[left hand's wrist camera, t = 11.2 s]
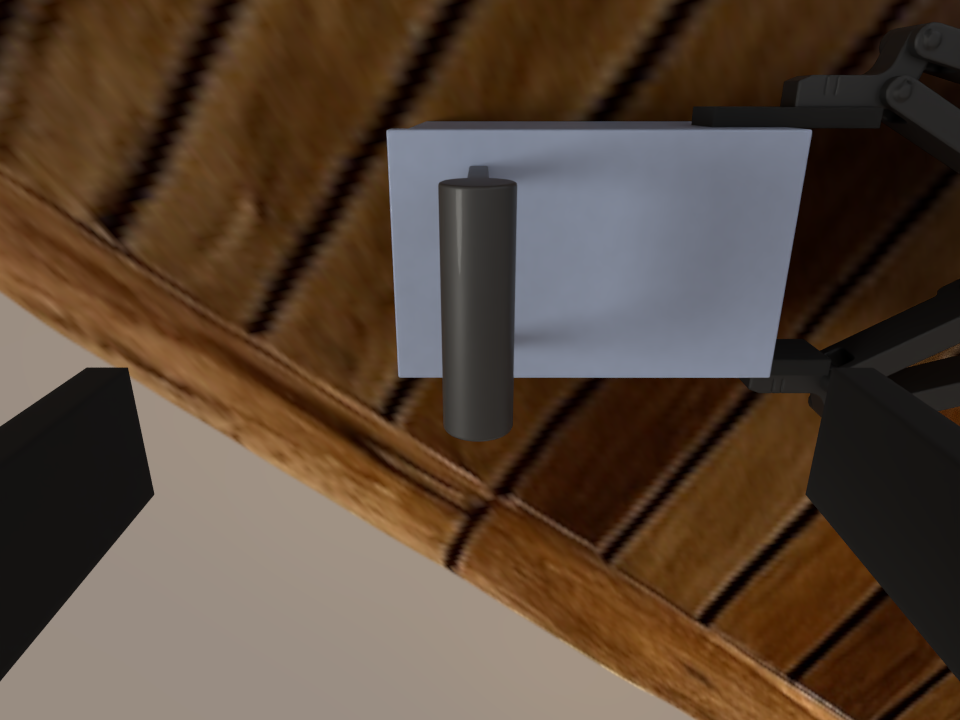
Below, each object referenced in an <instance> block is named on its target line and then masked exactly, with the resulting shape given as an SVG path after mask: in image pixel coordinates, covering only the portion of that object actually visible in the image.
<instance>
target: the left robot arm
mask: <svg viewBox="0 0 960 720" xmlns="http://www.w3.org/2000/svg"><path fill="white" fill-rule="evenodd" d="M153 495H154V490H153V486H152V481H151V476H150V471H149V466H148V462H147V457H146V452H145V448H144V443H143V438H142V433H141V428H140V423H139V419H138V414H137V409H136V404H135V400H134V395H133V390H132V385H131V380H130V376H129V371H128V368H85V369H84V370H83V371H81V372H80V373H78V374H77V375H75V376H74V377H72V378H71V379H69V380H68V381H66V382H65V383H64V384H62V385H61V386H59V387H58V388H56V389H55V390H53V391H52V392H50V393H49V394H47V395H46V396H44V397H43V398H41V399H40V400H39V401H37V402H36V403H34V404H33V405H31V406H30V407H28V408H27V409H25V410H24V411H22V412H21V413H20V414H18V415H17V416H15V417H14V418H12V419H11V420H9V421H8V422H6V423H5V424H3V425H2V426H0V681H1V680H2V678H3V677H4V676H5V675H6V674H7V672H8V671H9V670H10V669H11V667H12V666H13V665H14V664H15V663H16V661H17V660H18V659H19V658H20V657H21V655H22V654H23V653H24V652H25V650H26V649H27V648H28V647H29V646H30V644H31V643H32V642H33V641H34V640H35V638H36V637H37V636H38V635H39V634H40V632H41V631H42V630H43V629H44V628H45V626H46V625H47V624H48V623H49V622H50V620H51V619H52V618H53V617H54V615H55V614H56V613H57V612H58V611H59V609H60V608H61V607H62V606H63V605H64V603H65V602H66V601H67V600H68V598H69V597H70V596H71V595H72V594H73V592H74V591H75V590H76V589H77V588H78V586H79V585H80V584H81V583H82V581H83V580H84V579H85V578H86V577H87V575H88V574H89V573H90V572H91V571H92V569H93V568H94V567H95V566H96V565H97V563H98V562H99V561H100V560H101V558H102V557H103V556H104V555H105V554H106V552H107V551H108V550H109V549H110V548H111V546H112V545H113V544H114V543H115V542H116V540H117V539H118V538H119V537H120V535H121V534H122V533H123V532H124V531H125V529H126V528H127V527H128V526H129V525H130V523H131V522H132V521H133V520H134V518H135V517H136V516H137V515H138V514H139V512H140V511H141V510H142V509H143V508H144V506H145V505H146V504H147V503H148V501H149V500H150V499H151V498H152V497H153ZM806 495H807V497H808V498H809V499H810V500H811V502H812V503H813V504H814V505H815V506H816V508H817V509H818V510H819V511H820V512H821V514H822V515H823V516H824V517H825V519H826V520H827V521H828V522H829V523H830V525H831V526H832V527H833V528H834V529H835V531H836V532H837V533H838V534H839V535H840V537H841V538H842V539H843V540H844V542H845V543H846V544H847V545H848V546H849V548H850V549H851V550H852V551H853V552H854V554H855V555H856V556H857V557H858V558H859V560H860V561H861V562H862V563H863V565H864V566H865V567H866V568H867V569H868V571H869V572H870V573H871V574H872V575H873V577H874V578H875V579H876V580H877V582H878V583H879V584H880V585H881V586H882V588H883V589H884V590H885V591H886V592H887V594H888V595H889V596H890V597H891V598H892V600H893V601H894V602H895V603H896V605H897V606H898V607H899V608H900V609H901V611H902V612H903V613H904V614H905V615H906V617H907V618H908V619H909V620H910V622H911V623H912V624H913V625H914V626H915V628H916V629H917V630H918V631H919V632H920V634H921V635H922V636H923V637H924V638H925V640H926V641H927V642H928V643H929V645H930V646H931V647H932V648H933V649H934V651H935V652H936V653H937V654H938V655H939V657H940V658H941V659H942V660H943V661H944V663H945V664H946V665H947V666H948V668H949V669H950V670H951V671H952V672H953V674H954V675H955V676H956V677H957V678H958V680H959V681H960V426H958V425H957V424H955V423H954V422H952V421H951V420H949V419H948V418H946V417H945V416H944V415H942V414H941V413H939V412H938V411H936V410H935V409H933V408H932V407H930V406H929V405H927V404H926V403H924V402H923V401H921V400H920V399H919V398H917V397H916V396H914V395H913V394H911V393H910V392H908V391H907V390H905V389H904V388H902V387H901V386H899V385H898V384H897V383H895V382H894V381H892V380H891V379H889V378H888V377H886V376H885V375H883V374H882V373H880V372H879V371H877V370H876V369H875V368H832V371H831V376H830V380H829V385H828V390H827V395H826V399H825V404H824V409H823V414H822V419H821V423H820V428H819V433H818V438H817V443H816V447H815V452H814V457H813V462H812V466H811V471H810V476H809V481H808V486H807V490H806Z"/></svg>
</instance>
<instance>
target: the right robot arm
mask: <svg viewBox="0 0 960 720" xmlns="http://www.w3.org/2000/svg"><path fill="white" fill-rule="evenodd" d="M879 50H880V55H879V57H878V59H877V61H876V63H875V64H874V66H873V67H872V68H871V69H870V70H869V71H868V72H866V73H865V74H863V75H809V76H797V77H794V78H792V79H789V80H787V81H785V82H784V86H783V92H782V98H781V105H780V107H693V115H692V124H691V125H696V126H705V127H788V128H880V124H881V122H883V123H884V124H886V125H887V126H889V127H890V128H892V129H893V130H895V131H896V132H898V133H899V134H901V135H902V136H904V137H905V138H907V139H908V140H910V141H911V142H913V143H914V144H916V145H917V146H919V147H920V148H922V149H923V150H924V151H926V152H927V153H929V154H930V155H932V156H933V157H935V158H936V159H938V160H939V161H941V162H942V163H944V164H945V165H947V166H948V167H950V168H951V169H953V170H954V171H956V172H957V173H959V174H960V109H958V108H957V107H955V106H954V105H953V104H951V103H950V102H948V101H947V100H945V99H944V98H942V97H941V96H940V95H938V94H937V93H935V92H934V91H932V90H931V89H930V88H928V87H927V86H925V85H924V84H922V83H921V82H919V81H918V80H919V78H920V76H921V75H922V73H923V72H924V73H927V74H930V75H933V76H936V77H940V78H943V79H946V80H949V81H952V82H955V83H958V84H960V29H957V28H954V27H951V26H948V25H945V24H942V23H936V22H932V23H927V24H921V25H915V26H909V27H903V28H897V29H894V30H891V31H889V32H888V33H886V34H885V35H884V37H883V38H882V40H881V42H880V46H879ZM959 343H960V279H959V280H956V281H954V282H952V283H950V284H948V285H946V286H944V287H942V288H940V289H939V290H938V292H937V295H936V296H935V297H933V298H931V299H929V300H927V301H925V302H923V303H921V304H919V305H916V306H914V307H912V308H910V309H908V310H906V311H904V312H902V313H899V314H897V315H895V316H893V317H891V318H889V319H887V320H885V321H882V322H880V323H878V324H876V325H874V326H872V327H870V328H867V329H865V330H863V331H861V332H859V333H857V334H855V335H853V336H850V337H848V338H846V339H844V340H842V341H840V342H838V343H836V344H833V345H831V346H829V347H827V348H825V349H823V350H821V351H819V350H817V349H816V348H815V347H813V346H812V345H811V344H809V343H808V342H807V341H805V340H804V339H776V344H775V350H774V355H773V361H772V367H771V373H770V377H769V378H739V379H740V380H741V381H742V382H743V383H744V384H745V385H746V386H747V387H748V389H750V390H753V391H755V392H758V393H810V396H809V399H808V403H809V406H810V407H811V408H812V409H813V410H814V411H815V412H816V413H817V414H818V415H820V416H821V417H822V414H823V409H824V404H825V399H826V395H827V390H828V385H829V380H830V376H831V371H832V368H875V369H876V370H877V371H879V372H880V373H882V374H883V375H885V376H886V377H888V378H889V379H891V380H892V381H894V382H895V383H897V384H898V385H899V386H901V387H902V388H904V389H905V390H907V391H908V392H910V393H911V394H913V395H914V396H916V397H917V398H919V399H920V400H921V401H923V402H924V403H926V404H927V405H929V406H930V407H932V408H933V409H935V410H936V411H941V410H945V409H949V408H954V407H958V406H960V355H959V356H954V357H950V358H945V359H941V360H937V361H933V362H929V363H924V364H920V365H916V366H912V367H908V366H911V365H913V364H915V363H917V362H919V361H922V360H924V359H926V358H928V357H930V356H933V355H935V354H937V353H939V352H941V351H944V350H946V349H948V348H950V347H952V346H955V345H957V344H959ZM906 367H907V368H906Z"/></svg>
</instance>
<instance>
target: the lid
mask: <svg viewBox="0 0 960 720" xmlns="http://www.w3.org/2000/svg"><path fill="white" fill-rule="evenodd" d="M811 136H812V130H810V129H389V130H387V150H388V171H389V191H390V212H391V232H392V253H393V273H394V294H395V315H396V335H397V356H398V376H399V377H442V378H443V422H444V428H445V430H446V431H447V432H448V433H449V434H450V435H452V436H453V437H456V438H458V439H462V440H467V441H489V440H494V439H498V438H500V437H503V436H504V435H506V434H507V433H508V432H509V431H510V430H511V428H512V426H513V381H514V378H769V377H770V373H771V367H772V361H773V355H774V350H775V344H776V338H777V332H778V326H779V321H780V315H781V309H782V303H783V298H784V292H785V286H786V280H787V274H788V269H789V263H790V257H791V251H792V246H793V240H794V234H795V228H796V222H797V217H798V211H799V205H800V199H801V194H802V188H803V182H804V176H805V170H806V165H807V159H808V153H809V147H810V142H811Z"/></svg>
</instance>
